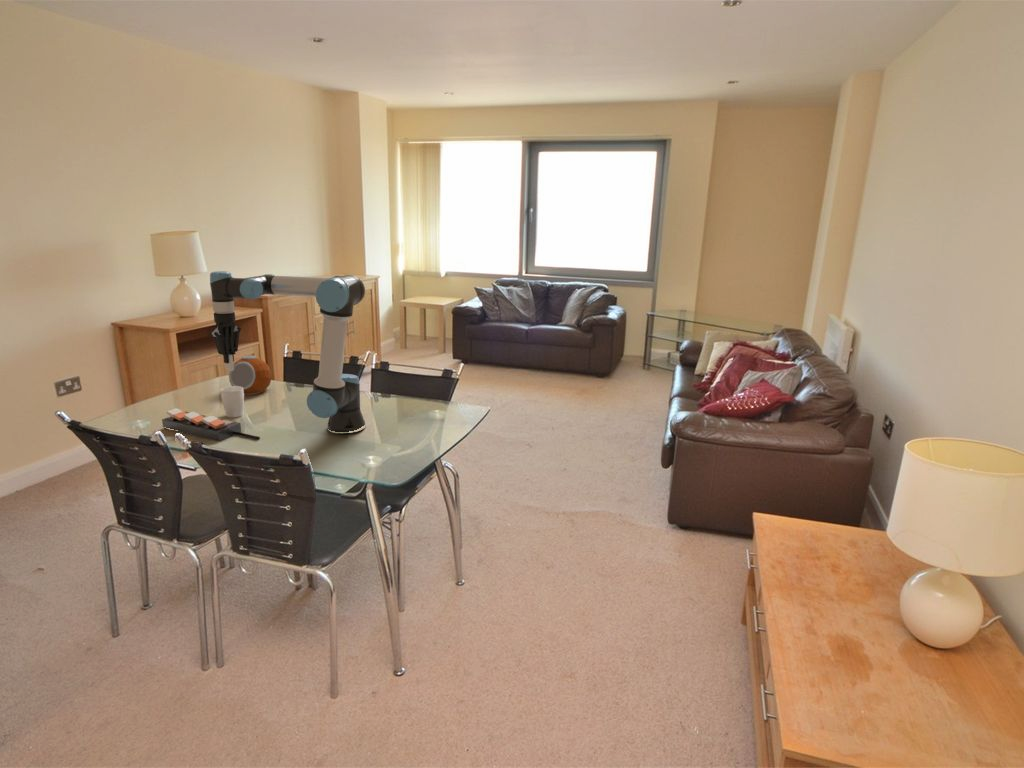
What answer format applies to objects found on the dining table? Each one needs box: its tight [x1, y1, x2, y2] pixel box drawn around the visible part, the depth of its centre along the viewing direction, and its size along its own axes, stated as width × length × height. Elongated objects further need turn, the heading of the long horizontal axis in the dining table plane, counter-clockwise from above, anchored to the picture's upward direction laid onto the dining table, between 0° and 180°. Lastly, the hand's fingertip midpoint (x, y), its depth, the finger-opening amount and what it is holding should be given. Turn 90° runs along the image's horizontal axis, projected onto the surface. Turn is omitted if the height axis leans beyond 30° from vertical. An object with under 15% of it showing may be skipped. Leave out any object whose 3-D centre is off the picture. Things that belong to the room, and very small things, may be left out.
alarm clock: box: [228, 355, 272, 395], centre depth 291 cm, size 19×18×17 cm
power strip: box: [161, 411, 261, 442], centre depth 239 cm, size 42×11×5 cm, turn 68°
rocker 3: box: [202, 415, 225, 429], centre depth 234 cm, size 7×4×1 cm, turn 68°
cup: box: [220, 385, 245, 419], centre depth 258 cm, size 9×9×12 cm
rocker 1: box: [166, 407, 187, 421], centre depth 241 cm, size 7×4×1 cm, turn 68°
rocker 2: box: [184, 411, 205, 425], centre depth 237 cm, size 7×4×1 cm, turn 68°
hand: (230, 370), depth 239 cm, fingers closed
